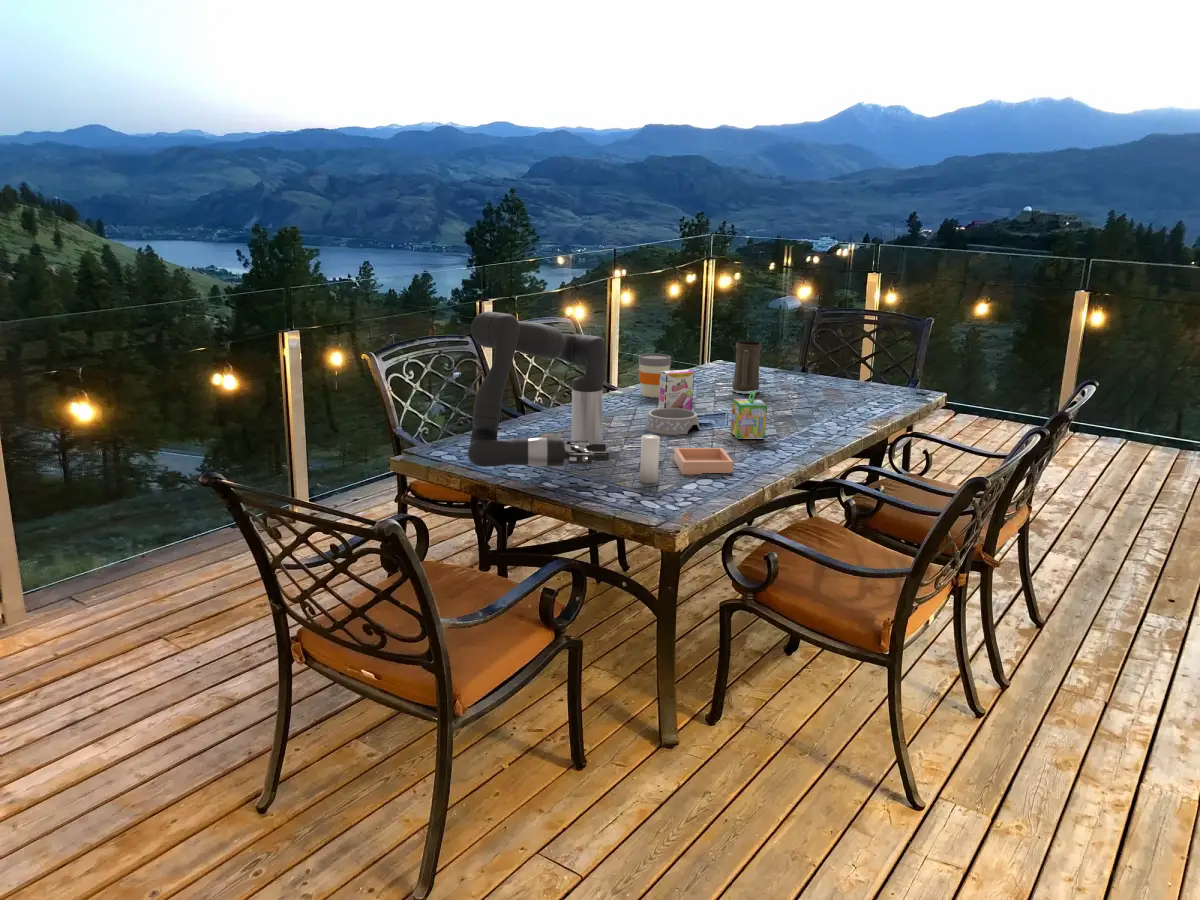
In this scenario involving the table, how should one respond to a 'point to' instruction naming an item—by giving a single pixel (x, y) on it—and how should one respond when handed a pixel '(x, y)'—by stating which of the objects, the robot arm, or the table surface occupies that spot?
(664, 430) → the dog bowl
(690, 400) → the candy bar box
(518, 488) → the table surface
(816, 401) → the table surface
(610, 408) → the table surface
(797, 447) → the table surface
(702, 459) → the terracotta tray
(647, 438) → the ceramic canister
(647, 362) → the reusable coffee cup
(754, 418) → the chalk box
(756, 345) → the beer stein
